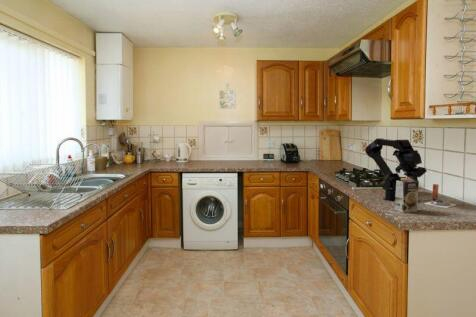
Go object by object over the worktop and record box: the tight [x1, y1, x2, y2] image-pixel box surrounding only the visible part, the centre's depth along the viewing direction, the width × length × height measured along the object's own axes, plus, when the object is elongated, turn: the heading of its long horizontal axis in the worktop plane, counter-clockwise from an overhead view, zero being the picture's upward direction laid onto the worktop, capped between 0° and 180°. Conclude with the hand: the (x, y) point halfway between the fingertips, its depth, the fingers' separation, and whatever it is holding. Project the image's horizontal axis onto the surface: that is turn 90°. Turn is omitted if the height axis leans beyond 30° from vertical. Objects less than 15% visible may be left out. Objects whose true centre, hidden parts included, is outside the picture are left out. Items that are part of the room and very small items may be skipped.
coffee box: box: [394, 180, 420, 214], centre depth 179 cm, size 9×6×16 cm
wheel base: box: [423, 201, 457, 209], centre depth 194 cm, size 12×12×1 cm
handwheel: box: [429, 183, 451, 205], centre depth 194 cm, size 11×10×10 cm
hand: (416, 181), depth 200 cm, fingers closed
